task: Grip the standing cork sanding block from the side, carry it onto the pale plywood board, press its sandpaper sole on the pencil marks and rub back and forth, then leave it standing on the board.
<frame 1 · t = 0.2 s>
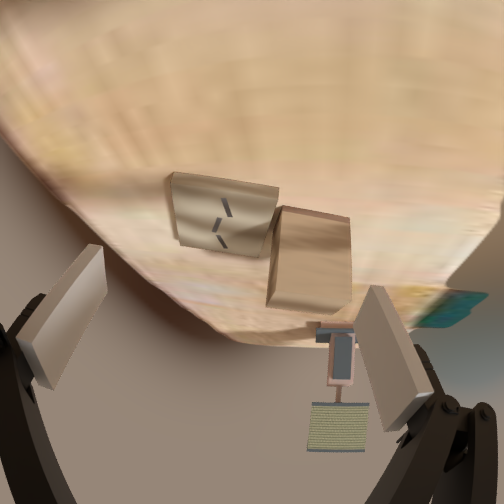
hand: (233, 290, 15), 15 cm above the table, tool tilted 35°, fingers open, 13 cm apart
sanding block: (309, 224, 37), on the table
desk lamp: (342, 327, 81), on the table
board: (222, 215, 38), on the table
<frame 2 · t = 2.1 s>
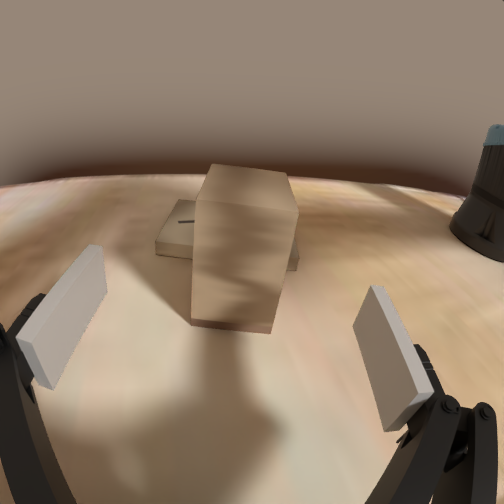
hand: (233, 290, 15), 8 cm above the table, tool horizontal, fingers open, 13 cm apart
sanding block: (233, 297, 26), on the table
board: (229, 236, 35), on the table
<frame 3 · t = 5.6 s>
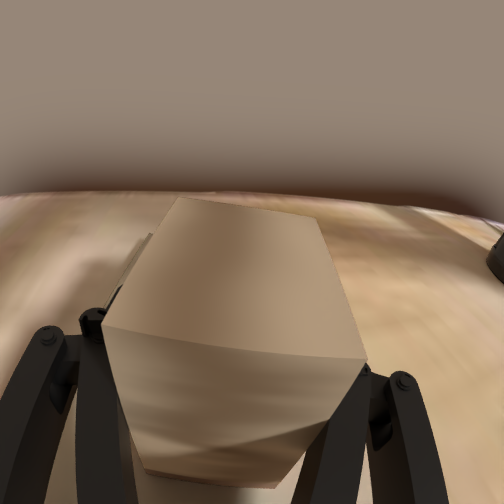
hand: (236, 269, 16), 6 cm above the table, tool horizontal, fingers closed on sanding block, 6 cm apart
sanding block: (216, 417, 15), on the table, touching gripper
board: (216, 295, 24), on the table
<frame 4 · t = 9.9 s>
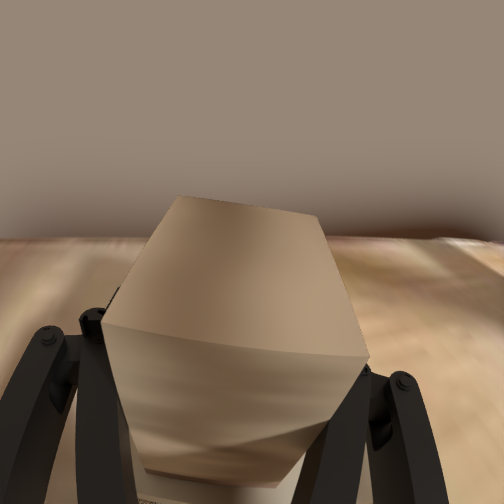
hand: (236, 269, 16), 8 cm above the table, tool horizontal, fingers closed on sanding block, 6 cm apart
sanding block: (217, 416, 15), point 2 cm above the table, touching gripper
board: (247, 427, 16), on the table
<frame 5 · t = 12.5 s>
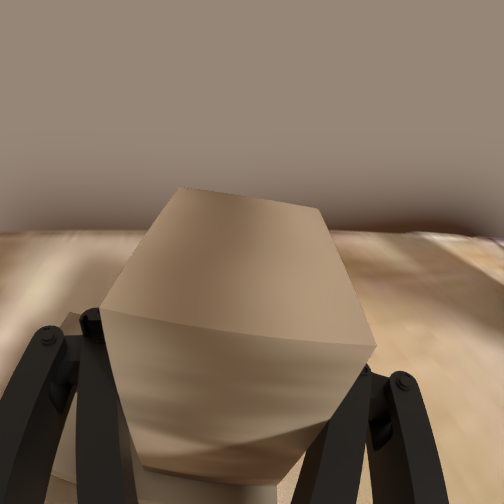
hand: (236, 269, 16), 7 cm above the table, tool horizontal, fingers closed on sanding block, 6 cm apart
sanding block: (216, 413, 14), point 2 cm above the table, touching gripper
board: (145, 415, 15), on the table
when the fingers open (8 cm above the table, at t = 14.8 s): sanding block drops 1 cm, resting on board.
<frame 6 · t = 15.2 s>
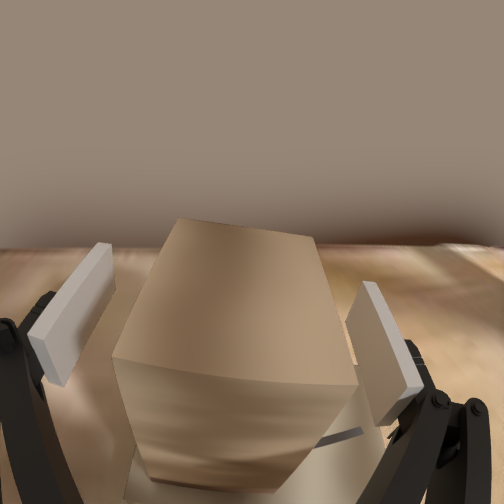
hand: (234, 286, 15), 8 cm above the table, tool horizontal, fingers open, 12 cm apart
sanding block: (217, 426, 15), point 2 cm above the table, touching board
board: (264, 440, 16), on the table
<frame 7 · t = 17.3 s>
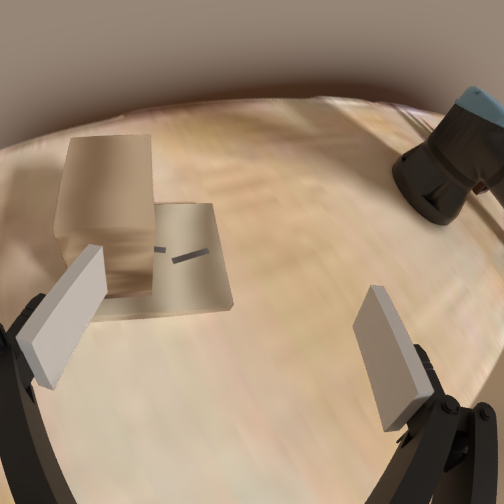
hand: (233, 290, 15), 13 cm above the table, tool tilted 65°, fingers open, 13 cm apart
sanding block: (115, 255, 26), point 2 cm above the table, touching board
board: (146, 261, 28), on the table
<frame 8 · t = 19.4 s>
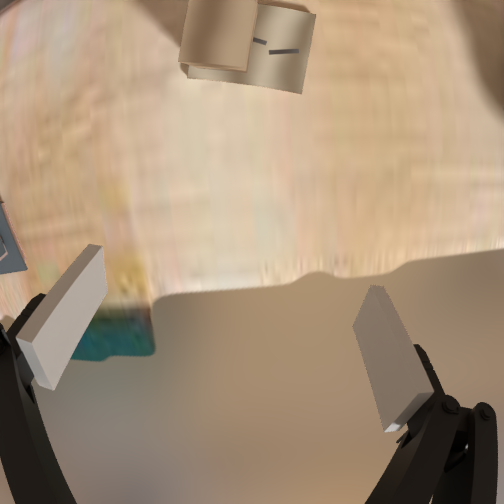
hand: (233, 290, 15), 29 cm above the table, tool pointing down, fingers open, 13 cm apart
sanding block: (227, 40, 31), point 2 cm above the table, touching board
board: (251, 44, 32), on the table
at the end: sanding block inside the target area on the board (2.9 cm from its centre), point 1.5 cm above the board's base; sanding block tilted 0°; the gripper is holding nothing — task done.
